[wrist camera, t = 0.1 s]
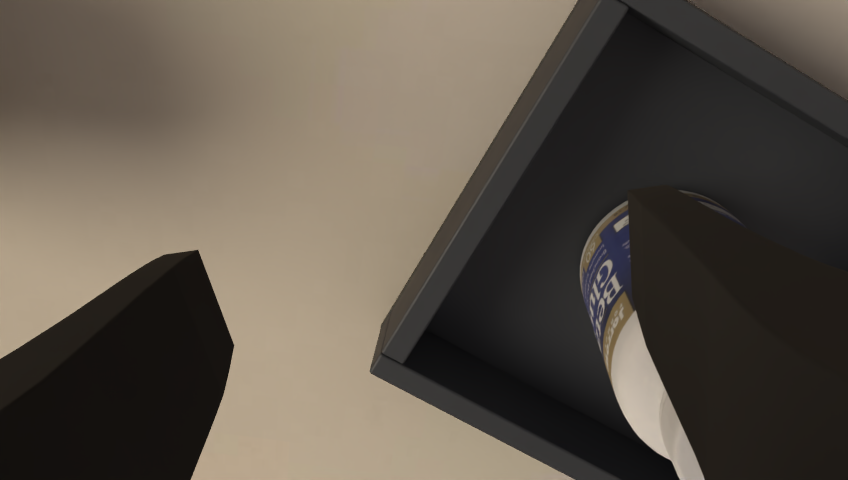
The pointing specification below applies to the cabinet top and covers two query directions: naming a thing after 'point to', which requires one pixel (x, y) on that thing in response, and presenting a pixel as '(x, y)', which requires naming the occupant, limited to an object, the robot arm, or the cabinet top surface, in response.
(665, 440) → the pill bottle
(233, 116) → the cabinet top surface
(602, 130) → the bin
